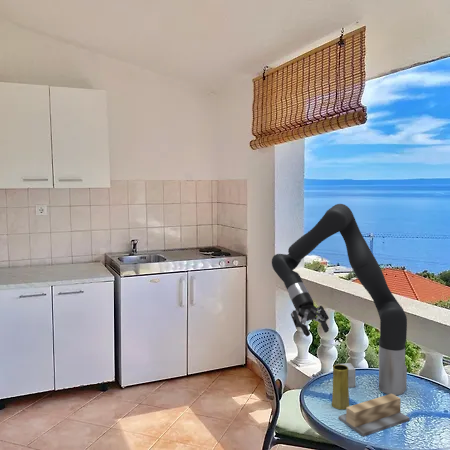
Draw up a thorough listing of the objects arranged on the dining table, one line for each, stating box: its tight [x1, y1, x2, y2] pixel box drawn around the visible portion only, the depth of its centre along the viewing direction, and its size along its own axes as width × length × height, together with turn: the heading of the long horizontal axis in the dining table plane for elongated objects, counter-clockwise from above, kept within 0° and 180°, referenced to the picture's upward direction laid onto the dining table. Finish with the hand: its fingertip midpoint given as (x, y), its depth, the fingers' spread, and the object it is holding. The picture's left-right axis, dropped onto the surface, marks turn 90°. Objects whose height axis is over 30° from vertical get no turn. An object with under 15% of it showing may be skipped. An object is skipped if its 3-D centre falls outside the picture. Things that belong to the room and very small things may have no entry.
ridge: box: [338, 394, 410, 437], centre depth 158 cm, size 20×12×6 cm, turn 116°
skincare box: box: [335, 362, 357, 388], centre depth 184 cm, size 6×6×7 cm
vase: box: [331, 363, 350, 410], centre depth 167 cm, size 6×6×14 cm
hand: (317, 333), depth 176 cm, fingers open, 8 cm apart
